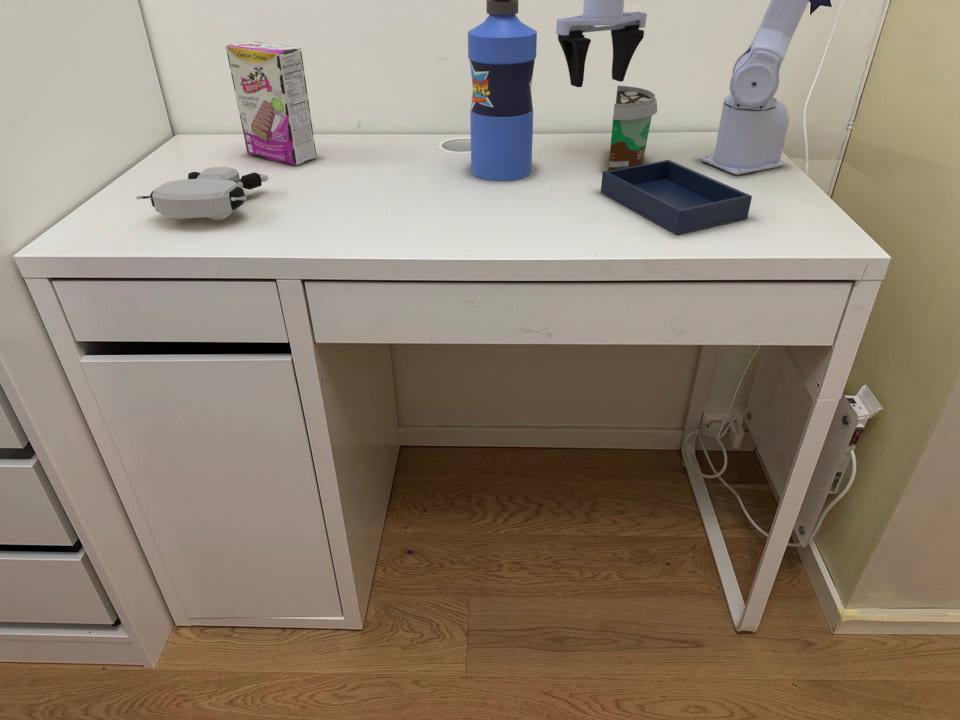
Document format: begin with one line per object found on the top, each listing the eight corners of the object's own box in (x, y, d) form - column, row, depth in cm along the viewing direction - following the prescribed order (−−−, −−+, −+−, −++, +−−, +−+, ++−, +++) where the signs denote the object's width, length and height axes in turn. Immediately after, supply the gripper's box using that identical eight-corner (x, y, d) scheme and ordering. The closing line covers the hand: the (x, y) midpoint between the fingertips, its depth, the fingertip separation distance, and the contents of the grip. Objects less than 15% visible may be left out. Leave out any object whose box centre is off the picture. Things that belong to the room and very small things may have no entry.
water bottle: (514, 157, 108) (517, -24, 94) (544, 175, 101) (552, -19, 87) (460, 166, 105) (455, -21, 91) (487, 185, 98) (485, -14, 84)
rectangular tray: (665, 180, 99) (668, 159, 97) (747, 218, 87) (752, 195, 85) (600, 192, 95) (602, 171, 93) (676, 235, 83) (680, 211, 81)
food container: (650, 177, 100) (659, 106, 94) (607, 175, 101) (614, 104, 95) (650, 152, 110) (658, 86, 104) (611, 150, 111) (617, 84, 105)
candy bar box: (245, 156, 110) (223, 45, 101) (268, 147, 114) (249, 39, 105) (295, 167, 105) (277, 51, 96) (318, 158, 109) (302, 46, 100)
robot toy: (192, 194, 98) (140, 228, 85) (186, 162, 96) (131, 192, 83) (276, 195, 98) (236, 230, 85) (271, 163, 95) (230, 194, 82)
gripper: (629, -24, 103) (620, 73, 110) (546, -18, 97) (542, 83, 105) (660, -20, 98) (648, 81, 105) (574, -14, 92) (568, 92, 100)
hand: (597, 83), depth 105 cm, fingers open, 7 cm apart
